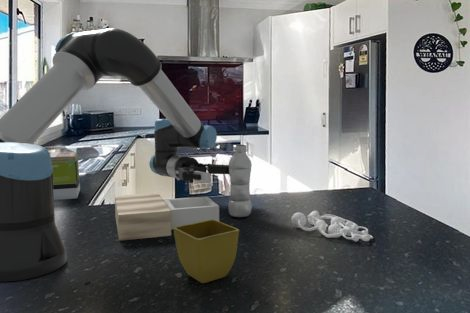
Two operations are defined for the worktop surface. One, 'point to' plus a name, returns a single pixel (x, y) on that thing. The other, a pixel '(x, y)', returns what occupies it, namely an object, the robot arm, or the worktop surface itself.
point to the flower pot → (206, 249)
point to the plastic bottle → (240, 182)
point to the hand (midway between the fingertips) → (228, 175)
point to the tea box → (65, 175)
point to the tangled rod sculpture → (331, 226)
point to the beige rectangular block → (142, 216)
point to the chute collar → (192, 210)
